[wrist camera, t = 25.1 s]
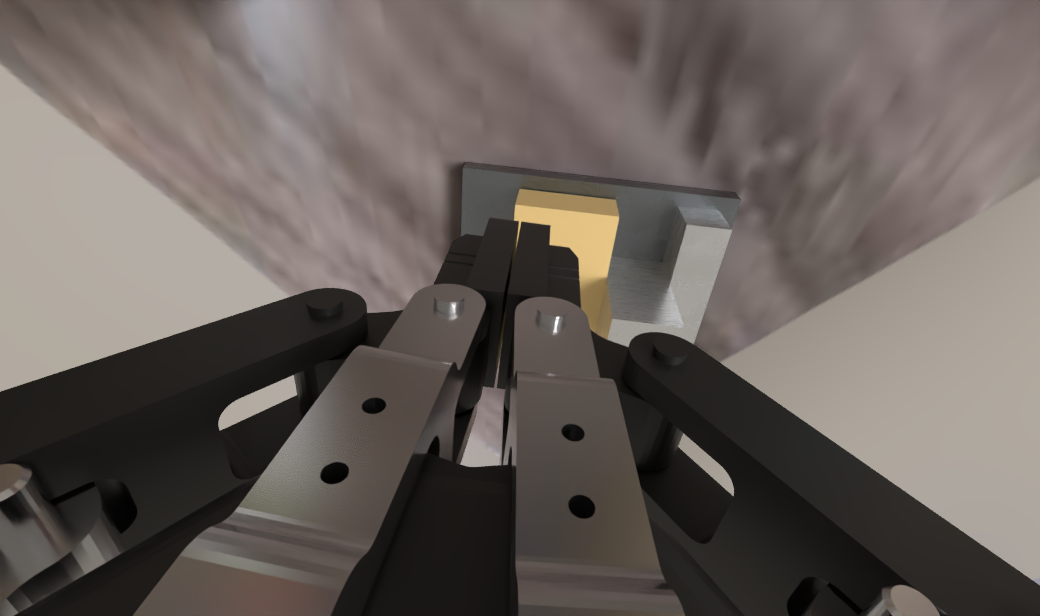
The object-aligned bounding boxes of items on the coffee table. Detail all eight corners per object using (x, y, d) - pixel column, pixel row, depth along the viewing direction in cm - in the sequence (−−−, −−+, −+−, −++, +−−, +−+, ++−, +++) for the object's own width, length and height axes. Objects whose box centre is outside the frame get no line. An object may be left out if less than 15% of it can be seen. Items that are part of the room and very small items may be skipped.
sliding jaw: (505, 343, 44) (501, 367, 41) (519, 188, 36) (515, 204, 34) (585, 353, 44) (586, 377, 41) (615, 199, 36) (619, 216, 33)
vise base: (461, 335, 46) (449, 370, 42) (466, 161, 37) (453, 182, 33) (679, 362, 45) (690, 400, 41) (735, 192, 37) (756, 217, 33)
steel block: (594, 304, 41) (599, 374, 34) (604, 255, 39) (612, 318, 31) (649, 311, 41) (666, 382, 33) (662, 262, 39) (684, 327, 31)
